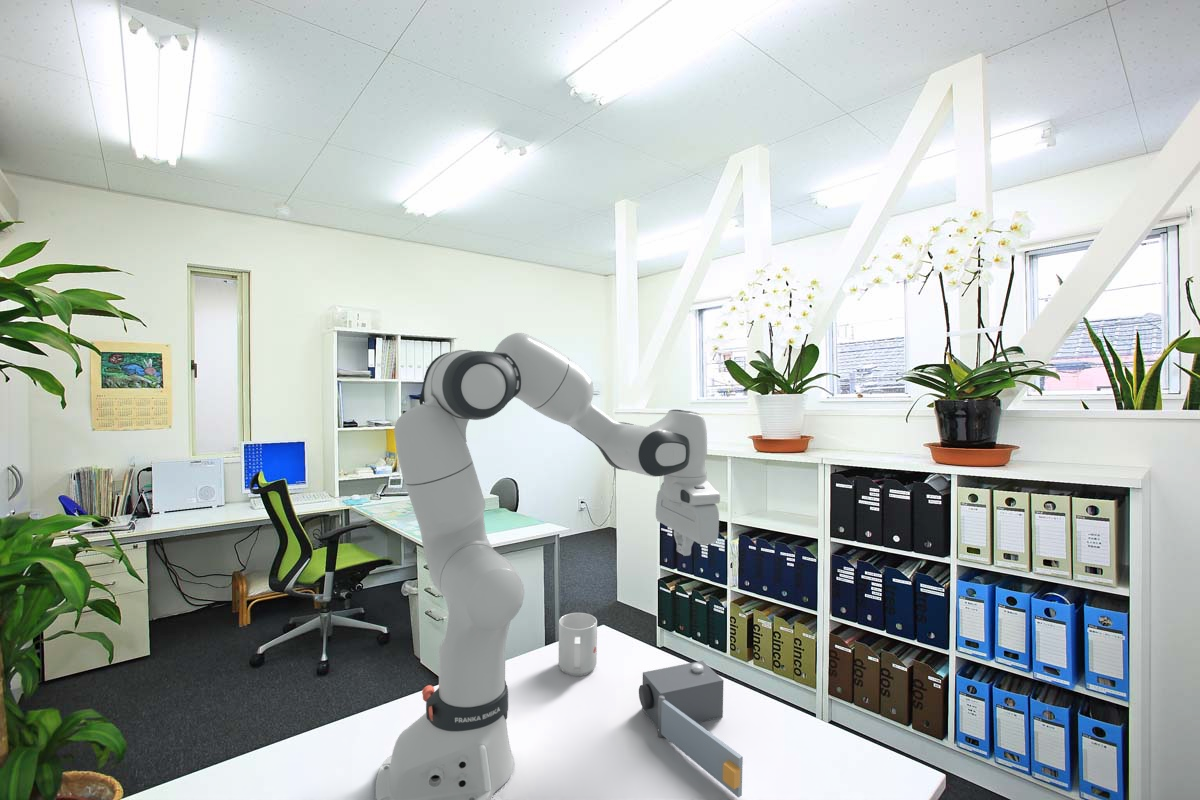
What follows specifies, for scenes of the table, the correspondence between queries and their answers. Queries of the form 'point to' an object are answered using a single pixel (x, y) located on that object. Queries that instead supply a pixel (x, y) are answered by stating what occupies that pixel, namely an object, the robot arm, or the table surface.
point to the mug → (577, 643)
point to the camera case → (684, 691)
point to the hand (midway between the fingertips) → (683, 553)
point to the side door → (700, 746)
